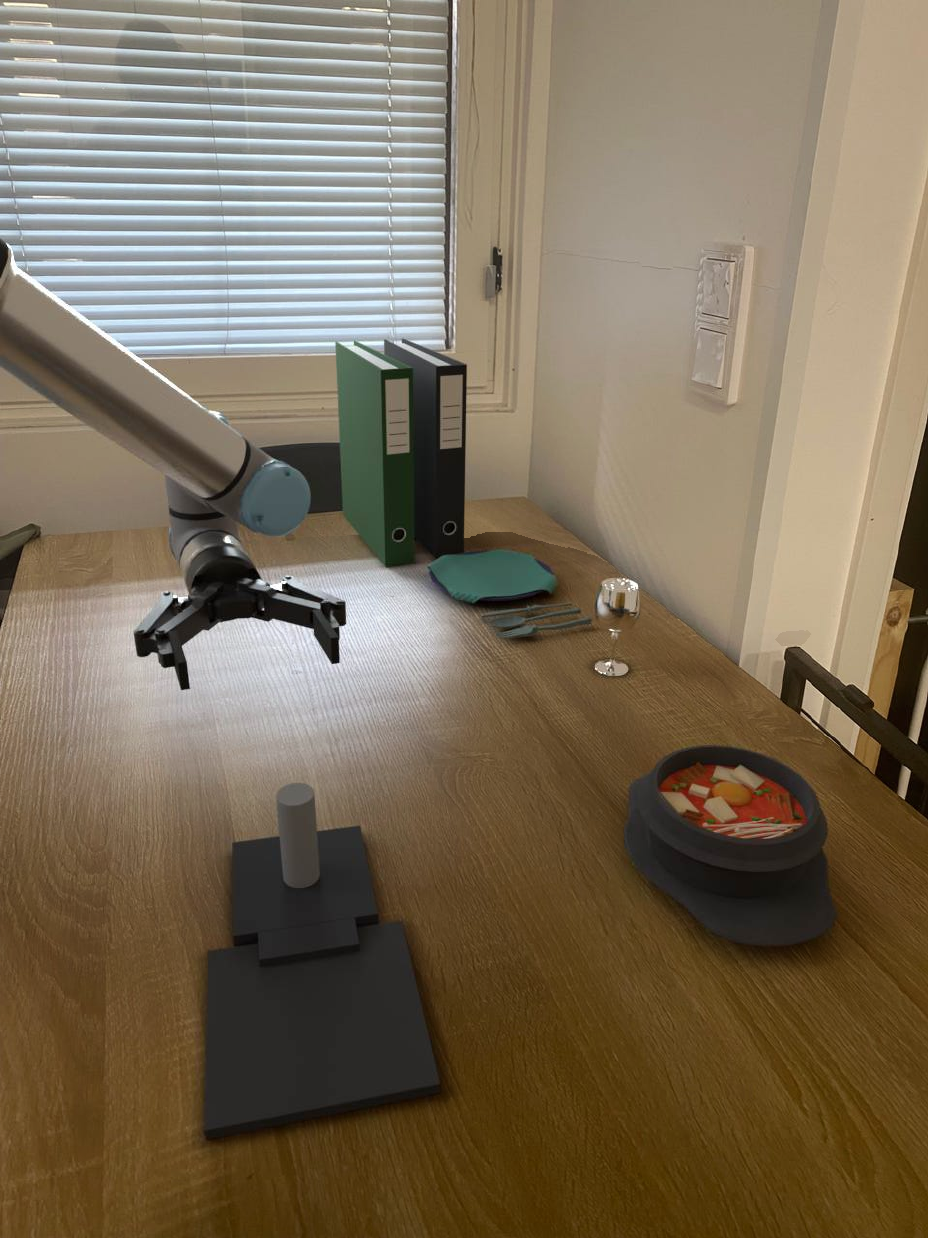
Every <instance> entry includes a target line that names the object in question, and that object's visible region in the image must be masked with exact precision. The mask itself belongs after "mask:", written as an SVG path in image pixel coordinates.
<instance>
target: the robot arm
mask: <svg viewBox="0 0 928 1238" xmlns="http://www.w3.org/2000/svg"><path fill="white" fill-rule="evenodd" d="M0 370H1V371H2V372H3V373H5V374H7V375H8V376H10V377H12V378H13V379H15V380H16V381H18V382H19V383H21V384H23V385H24V386H26V387H27V388H29V389H30V390H32V391H33V392H35V393H37V394H38V395H40V396H41V397H43V398H44V399H46V400H47V401H49V402H51V403H52V404H54V405H55V406H57V407H58V408H60V409H61V410H63V411H65V412H66V413H68V414H69V415H71V416H72V417H74V418H76V419H77V420H78V421H80V422H82V423H83V424H85V425H86V426H88V427H90V428H91V429H93V430H94V431H96V432H97V433H99V434H101V435H102V436H104V437H105V438H107V439H108V440H110V441H112V442H113V443H115V444H116V445H118V446H119V447H121V448H122V449H124V450H126V451H127V452H129V453H130V454H132V455H133V456H135V457H136V458H138V459H140V460H141V461H142V462H144V463H146V464H148V465H149V466H151V467H152V468H153V469H155V470H157V471H158V472H160V473H161V474H163V475H164V482H165V489H166V496H167V503H168V505H167V507H168V518H169V530H168V539H169V540H168V541H169V548H170V552H171V554H172V555H173V557H174V559H175V561H176V563H177V566H178V568H179V570H180V573H181V575H182V579H183V582H184V584H185V587H186V589H187V592H188V595H187V596H181V597H179V596H178V595H174V593H173V591H170V590H165V591H162V592H160V594H159V595H160V597H159V598H160V599H159V602H158V603H157V604H156V605H155V606H154V607H153V608H152V610H151V611H150V612H149V613H148V614H147V615H146V617H145V618H144V619H143V620H142V621H141V622H140V623H139V625H138V626H137V627H135V629H134V630H133V636H134V637H133V638H134V645H135V651H136V653H135V654H136V656H137V657H138V658H147V657H149V656H150V655H151V654H153V653H154V654H156V655H157V661H158V664H159V665H160V666H161V668H163V669H167V668H174V671H175V675H176V677H177V681H178V685H179V687H180V691H185V690H191V686H190V678H189V677H190V676H189V669H188V662H187V658H186V655H185V653H184V649H183V646H184V645H186V644H187V643H188V642H189V641H191V640H192V639H193V638H195V637H196V636H197V635H199V634H200V633H201V632H202V631H208V632H209V631H210V630H211V629H213V628H214V627H215V626H216V625H218V624H219V623H222V624H223V622H230V621H234V620H238V619H239V620H241V619H247V620H248V619H251V618H252V619H256V620H260V621H262V622H263V621H264V622H269V623H270V622H271V621H272V620H276V621H280V622H283V623H287V624H291V625H296V626H299V627H303V628H306V629H311V630H313V636H314V638H315V640H316V641H317V643H318V645H319V646H320V647H321V649H322V651H323V652H324V654H325V656H326V657H327V659H328V660H329V662H330V663H331V665H336V664H340V663H341V658H340V638H341V634H340V633H341V632H340V627H344V626H346V625H347V606H346V605H347V604H346V603H347V602H346V600H344V599H341V598H339V597H336V596H335V595H332V594H329V593H328V592H325V591H322V590H320V589H317V588H315V587H313V586H310V585H307V584H305V583H302V582H300V581H298V579H297V578H296V577H295V576H294V575H290V574H289V575H288V574H287V575H284V576H282V581H281V583H277V584H270V583H269V582H267V581H264V580H263V579H262V577H261V575H260V573H259V571H258V569H257V567H256V566H255V564H254V562H253V561H252V559H251V556H250V555H249V553H248V552H247V550H246V549H245V547H244V544H242V541H241V540H240V537H239V527H238V523H239V524H240V525H242V526H244V527H245V528H247V529H248V530H250V531H251V532H254V533H256V534H257V533H258V534H262V535H264V536H266V537H271V538H272V537H273V538H279V537H283V536H286V535H288V534H291V533H292V532H294V531H295V530H297V529H298V528H299V527H300V525H301V524H302V523H303V521H304V520H305V519H306V516H307V515H308V513H309V510H310V507H311V502H312V501H311V500H312V495H311V494H312V493H311V488H310V485H309V482H308V481H307V479H306V477H305V476H304V474H303V473H301V471H299V469H297V468H294V467H292V466H291V465H290V464H288V462H286V461H283V460H278V459H275V458H273V457H272V456H270V455H269V454H267V452H265V451H264V450H262V449H261V448H259V447H258V446H257V445H255V444H254V443H252V442H251V441H250V440H248V439H247V438H245V436H242V435H241V433H239V432H238V431H237V430H235V429H234V428H233V427H231V426H230V425H229V421H228V419H227V417H226V415H224V414H223V413H220V412H219V411H213V410H209V409H207V408H206V407H205V406H203V405H202V404H201V403H200V402H198V401H196V400H195V399H194V398H192V397H191V396H190V395H188V394H187V393H186V392H185V391H183V390H182V389H181V388H179V387H178V386H176V385H175V384H174V383H173V382H172V381H170V380H169V379H168V378H166V377H165V376H163V375H162V374H161V373H159V372H158V371H157V370H155V369H154V368H152V367H151V366H149V365H148V364H147V363H146V362H144V361H143V360H142V359H141V358H139V357H138V356H136V355H135V354H134V353H133V352H131V351H130V350H128V349H127V348H126V347H124V346H123V345H122V344H120V343H119V342H118V341H116V340H115V339H114V338H112V337H111V336H109V335H108V334H107V333H105V331H103V330H102V329H100V328H99V327H97V325H95V324H94V323H92V322H91V321H90V320H88V319H87V318H86V317H85V316H84V315H82V314H80V313H79V312H77V310H75V309H74V308H72V307H71V306H70V305H68V304H67V303H66V302H64V301H63V300H62V299H60V298H59V297H57V296H56V295H55V294H53V293H52V292H51V291H49V290H48V289H46V288H45V287H44V286H43V285H41V284H40V283H39V282H38V281H36V280H35V279H34V278H32V276H30V275H28V274H27V273H25V272H24V271H23V270H21V269H20V268H18V266H17V265H16V263H15V259H14V254H13V250H12V247H11V246H10V245H9V244H8V243H7V242H6V241H4V240H3V239H2V238H0Z"/></svg>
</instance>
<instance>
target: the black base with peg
mask: <svg viewBox="0 0 928 1238" xmlns="http://www.w3.org/2000/svg"><path fill="white" fill-rule="evenodd" d="M315 796H316V795H315V790H314V788H313V786H311V785H309V784H307V783H303V782H293V783H288V784H285V785H283V786H282V787H280V788H279V789H278V791H277V792H276V794H275V801H276V812H277V823H278V832H279V835H278V836H271V837H263V838H262V837H261V838H256V839H255V838H254V839H247V840H241V841H233V842H232V844H231V863H232V864H231V867H232V868H231V873H232V879H231V880H232V941H233V947H236V946H242V945H248V944H255V943H258V947H259V964H260V967H262V966H268V965H275V964H281V963H287V962H293V961H299V960H305V959H311V958H318V957H324V956H330V955H336V954H342V953H348V952H354V951H359V950H360V947H359V939H358V933H357V927H362V926H369V925H375V924H380V923H379V922H380V921H379V910H378V905H377V901H376V895H375V892H374V886H373V881H372V876H371V871H370V867H369V861H368V857H367V851H366V847H365V842H364V838H363V833H362V827H361V825H352V826H346V827H339V828H338V827H337V828H331V829H324V830H318V826H317V811H316V797H315Z"/></svg>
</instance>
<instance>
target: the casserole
mask: <svg viewBox="0 0 928 1238" xmlns="http://www.w3.org/2000/svg"><path fill="white" fill-rule="evenodd" d="M628 803H629V804H628V806H629V810H628V813H627V817H626V821H625V824H624V828H623V840H624V846H625V849H626V852H627V854H628V857H629V858H630V860H631V861H632V863H633V864H634V866H635V867H636V869H637V870H638V871H639V872H640V873H641V875H643V876H644V877H645V878H646V879H647V880H648V881H649V883H650V884H653V886H655V887H656V888H658V889H659V890H661V891H662V892H664V894H666V895H668V897H671V898H672V899H673V900H674V901H676V902H678V903H679V904H680V905H682V906H683V907H684V908H685V909H686V910H687V911H688V912H690V914H691V915H692V916H693V917H695V918H696V919H697V920H698V921H699V922H700V923H701V924H702V925H703V926H704V927H705V928H706V929H707V930H708V931H709V932H710V933H712V934H714V935H716V936H719V937H721V938H722V939H725V940H726V941H731V942H734V943H738V944H742V945H747V946H757V947H758V946H761V947H783V946H793V945H797V944H802V943H806V942H810V941H812V940H814V939H816V938H818V937H821V936H824V935H825V934H826V933H827V932H828V931H830V930H831V929H832V928H833V927H834V926H835V923H836V921H837V918H838V913H837V909H836V907H835V906H836V905H835V903H834V901H833V897H832V894H831V891H830V888H829V867H828V866H829V865H828V860H827V856H826V853H825V851H824V848H823V847H824V846H825V845H826V841H827V838H828V834H829V831H828V821H827V818H826V816H825V813H824V811H823V809H822V808H821V805H820V802H819V798H818V796H817V793H816V791H815V789H814V788H813V787H812V786H811V784H810V783H809V782H808V781H807V780H806V779H805V778H804V777H803V776H802V775H801V774H800V773H798V771H795V770H794V769H792V768H791V767H790V766H789V765H787V764H785V763H783V762H781V761H779V760H777V759H775V758H773V757H771V756H768V755H765V754H763V753H760V752H757V751H754V750H750V749H746V748H742V747H737V746H731V745H722V744H721V745H718V744H705V745H704V744H701V745H694V746H687V747H684V748H681V749H677V750H674V751H673V752H670V753H668V754H667V755H665V756H663V757H662V758H661V759H660V760H659V761H657V762H656V764H655V766H654V767H653V769H651V770H650V771H649V772H648V773H647V774H645V775H642V776H641V777H639V778H637V779H635V780H634V781H633V782H632V783H631V785H630V786H629V787H628Z"/></svg>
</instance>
